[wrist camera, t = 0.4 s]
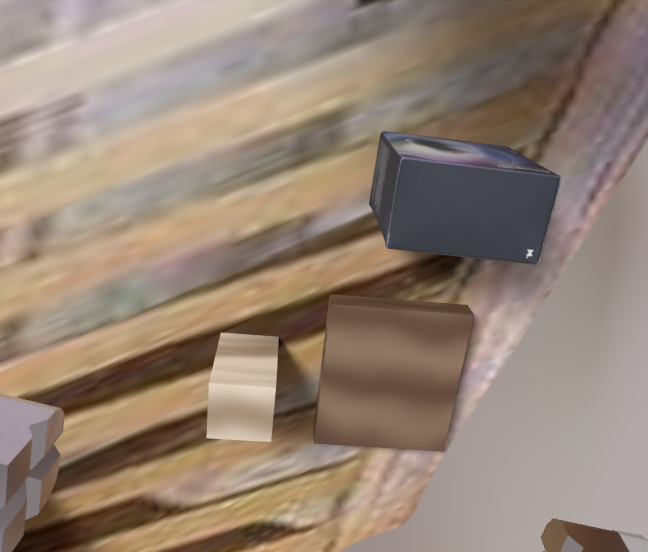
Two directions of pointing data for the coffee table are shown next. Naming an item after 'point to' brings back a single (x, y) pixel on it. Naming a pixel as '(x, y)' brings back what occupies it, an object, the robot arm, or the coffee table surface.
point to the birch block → (243, 388)
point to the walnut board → (390, 372)
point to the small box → (461, 198)
